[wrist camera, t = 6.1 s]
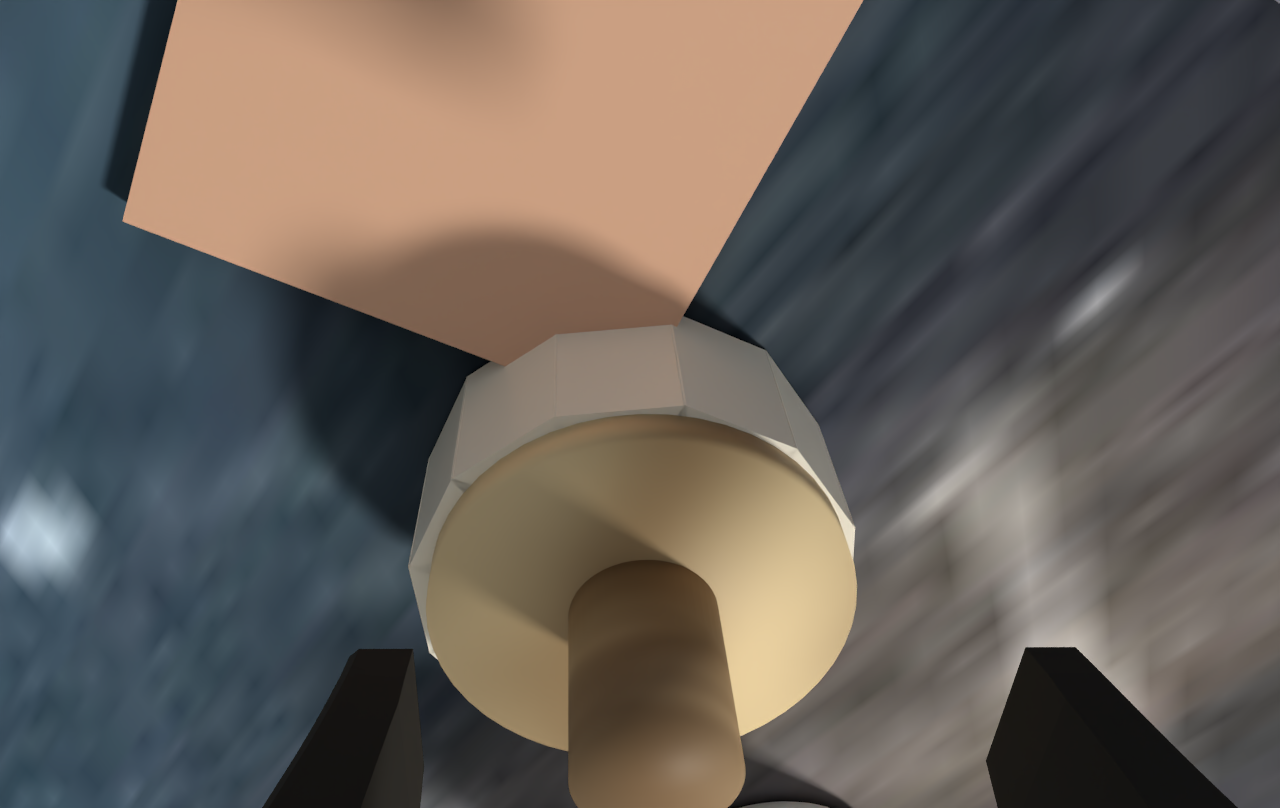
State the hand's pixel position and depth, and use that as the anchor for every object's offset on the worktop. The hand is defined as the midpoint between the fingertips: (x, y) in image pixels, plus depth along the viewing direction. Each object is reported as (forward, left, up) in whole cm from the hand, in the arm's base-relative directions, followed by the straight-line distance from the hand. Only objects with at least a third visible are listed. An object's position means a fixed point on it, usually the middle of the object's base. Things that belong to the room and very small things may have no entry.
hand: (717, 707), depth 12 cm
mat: (+5, -3, -10) cm, 12 cm away
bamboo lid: (-1, +4, -7) cm, 8 cm away
